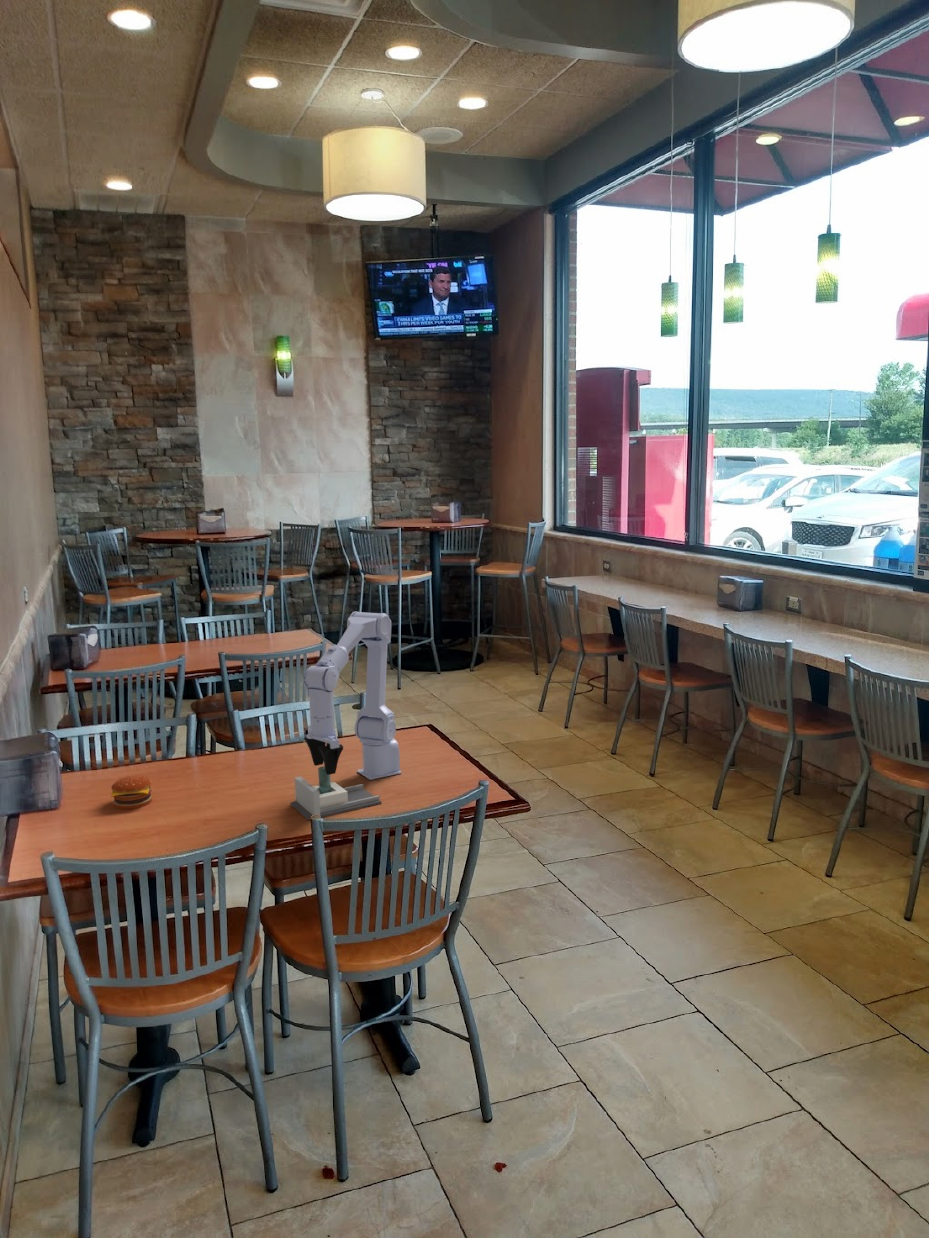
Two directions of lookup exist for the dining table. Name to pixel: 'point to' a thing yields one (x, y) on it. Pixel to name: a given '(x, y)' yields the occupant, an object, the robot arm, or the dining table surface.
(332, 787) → the sliding block
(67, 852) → the dining table surface
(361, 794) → the base
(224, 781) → the dining table surface
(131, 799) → the hamburger
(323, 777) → the dowel
